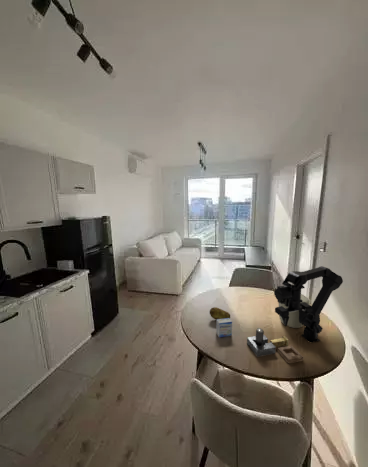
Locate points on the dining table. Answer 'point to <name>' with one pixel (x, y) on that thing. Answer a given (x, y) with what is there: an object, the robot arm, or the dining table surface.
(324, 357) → the dining table surface
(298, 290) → the robot arm
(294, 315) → the canister
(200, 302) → the dining table surface
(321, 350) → the dining table surface
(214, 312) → the potato
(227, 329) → the medicine box
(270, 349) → the socket block
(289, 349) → the brown square frame
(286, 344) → the drift key
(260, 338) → the grey peg
